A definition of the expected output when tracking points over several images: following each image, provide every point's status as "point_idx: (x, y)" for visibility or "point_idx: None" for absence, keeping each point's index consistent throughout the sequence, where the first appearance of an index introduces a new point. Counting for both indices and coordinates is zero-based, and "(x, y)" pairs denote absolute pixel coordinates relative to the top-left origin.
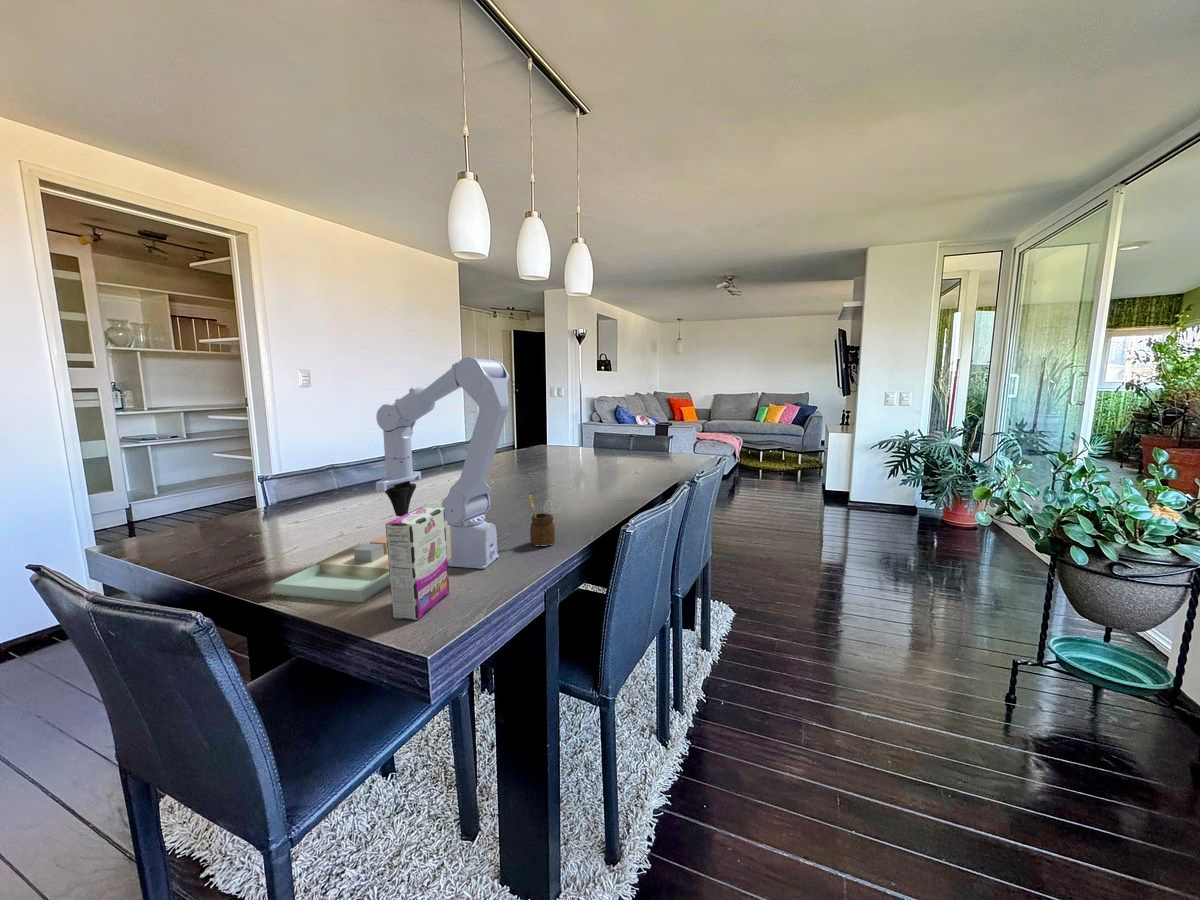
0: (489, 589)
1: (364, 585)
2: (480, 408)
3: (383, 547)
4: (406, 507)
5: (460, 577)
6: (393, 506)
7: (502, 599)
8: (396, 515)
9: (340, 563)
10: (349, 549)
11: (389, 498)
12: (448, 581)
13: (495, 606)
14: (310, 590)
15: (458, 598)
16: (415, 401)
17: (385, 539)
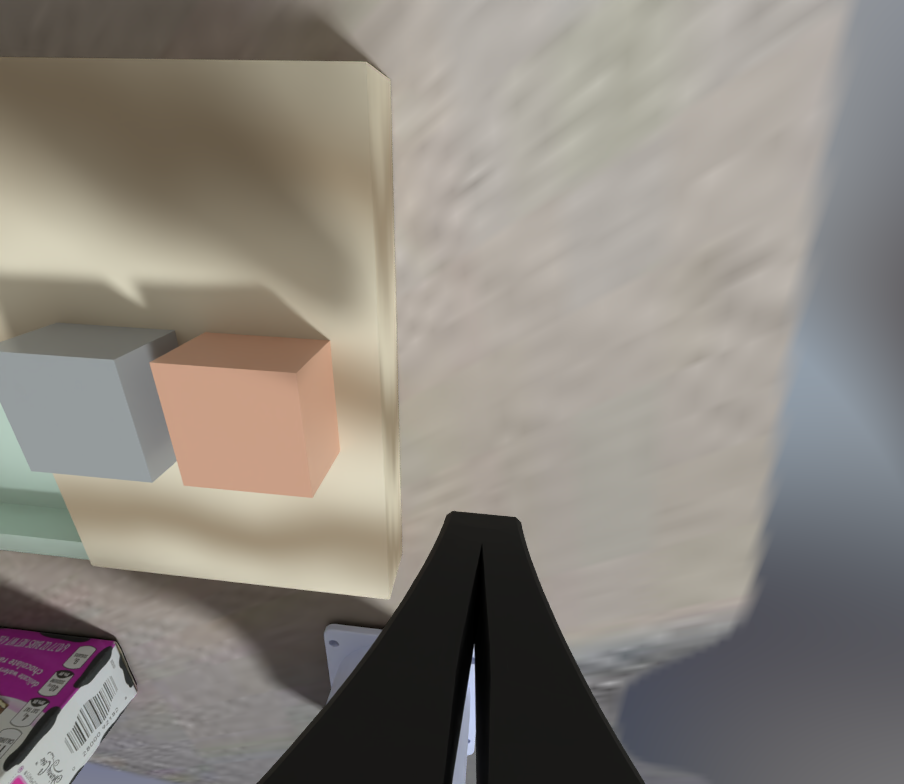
0: (213, 752)
1: (20, 450)
2: None
3: (165, 470)
4: (463, 704)
5: (258, 685)
6: (403, 605)
7: (175, 777)
8: (444, 523)
9: None
10: (204, 100)
11: (296, 739)
12: (108, 730)
13: (136, 771)
14: None
15: (129, 709)
16: None
17: (244, 442)
